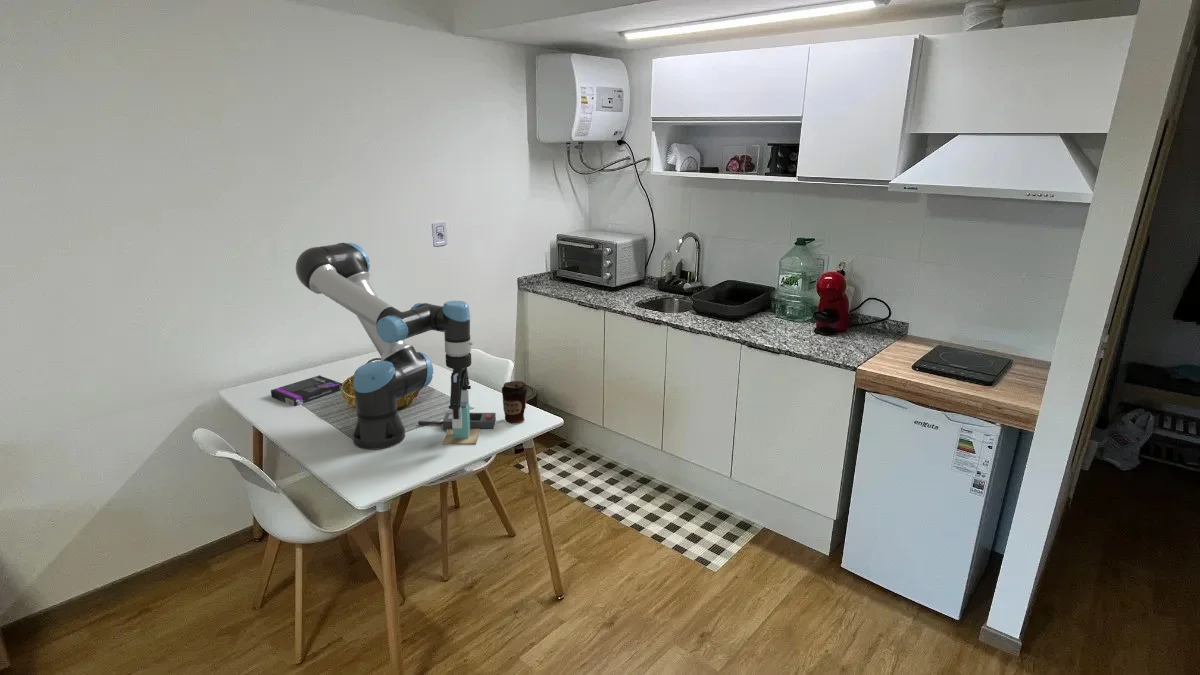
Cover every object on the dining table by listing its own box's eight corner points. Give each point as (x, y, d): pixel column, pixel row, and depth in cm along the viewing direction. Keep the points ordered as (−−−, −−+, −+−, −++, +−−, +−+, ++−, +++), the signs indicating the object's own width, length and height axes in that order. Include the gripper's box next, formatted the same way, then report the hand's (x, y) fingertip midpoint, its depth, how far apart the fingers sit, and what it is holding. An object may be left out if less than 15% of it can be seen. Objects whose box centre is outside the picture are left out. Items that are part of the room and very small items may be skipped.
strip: (415, 429, 200) (414, 419, 199) (420, 420, 206) (419, 410, 205) (493, 429, 201) (492, 419, 200) (495, 420, 207) (495, 411, 206)
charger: (453, 438, 193) (452, 406, 190) (456, 432, 197) (454, 401, 194) (468, 438, 193) (466, 406, 190) (470, 432, 197) (469, 401, 194)
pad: (442, 444, 190) (442, 442, 190) (448, 430, 200) (448, 428, 199) (475, 444, 191) (475, 442, 190) (480, 430, 200) (480, 428, 200)
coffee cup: (522, 427, 203) (522, 390, 199) (498, 424, 204) (497, 387, 201) (530, 416, 211) (530, 380, 207) (507, 414, 213) (506, 378, 209)
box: (294, 409, 215) (344, 391, 231) (293, 399, 214) (343, 382, 229) (271, 399, 222) (321, 382, 238) (270, 390, 221) (320, 373, 237)
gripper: (464, 367, 175) (466, 436, 182) (476, 340, 199) (479, 402, 205) (437, 366, 175) (440, 436, 181) (453, 340, 199) (455, 402, 205)
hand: (461, 418), depth 193 cm, fingers open, 13 cm apart
